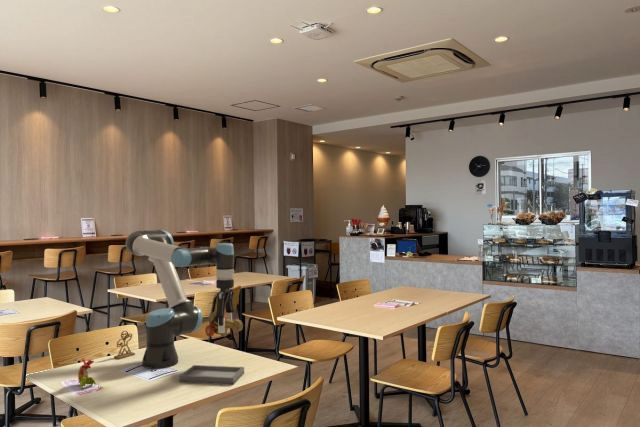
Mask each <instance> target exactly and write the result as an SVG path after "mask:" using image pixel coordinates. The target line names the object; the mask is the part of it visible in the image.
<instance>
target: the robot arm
mask: <svg viewBox="0 0 640 427" xmlns="http://www.w3.org/2000/svg"><path fill="white" fill-rule="evenodd" d="M174 243H175V241H174V238H173V236H172V234H171V233H170V232H169V231H166V230H163V229H154V230H151V229H150V230H135V231H133V232H131V233H130V234H128V236H127V237H126V239H125V249H126V250H127V251H128V252H129V253H130V254H132V255H134V256H138V257H139V256H140V257H143V256H146V257H147V259H148V261H149V262H151V263H153V266H154V268H155V271H156V274H157V277H158V280H159V282H160V285H161V288H162V290H163V293H164V295H165V298H166V301H167V303H168V307H165V308H159V309H154V310H151V311H150V312H149V313H148V314H147V315H146V322H145V325H146V326H145V327H146V348H145V350H144V354H143V358H142V366H143V367H144V368H146V367H148V368H147V369H164V368H169V367H172V366H175V365H177V364H178V363H179V355H178V353H177V352H178V351H177V350H176V345H175V337H178V336H182V335H186V334H192V333H194V332H197V331H198V330H199V329H200V328H201V326H202V322H203V312H202V310H201V308H200V307H198V306H196V305H195V306H194V304H193V302H192V300H190V299H188V297H187V295H186V293H185V290H184V288H183V285H182V283H181V280H180V277H179V274H178V272H177V270H176V268H186V267H193V266H194V267H195V266H203V265H215V266H216V268H215V276H216V277H215V278H216V281H215V286H216V289H218V290H220V291H219V293H217V294H216V296H217V300H216V301H217V302H216V311H217V312H216V318H218V333H225V318H224V313H225V312H226V315H227V316H226V318H227V319H228V320H232V321H233V313H234V312H235V310H234V299H233V288H235V280H234V277H235V276H234V275H235V272H236V271H235V266H234V265H235V264H234V263H235V257H234V256H235V251H234V244H233V243H230V242H228V243H226V242H225V243H224V242H220V243H217V244H216V246H215V247H212V246H211V247H208V246H200V247H194V248H185V247H183V246H178V245H174Z"/></svg>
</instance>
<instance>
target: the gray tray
mask: <svg viewBox="0 0 640 427" xmlns="http://www.w3.org/2000/svg"><path fill="white" fill-rule="evenodd" d="M244 374H245V366H229V365H227V366H226V365H225V366H223V365H199V364H198V365H195V364H194V365H192V366H190V367H189V368H188V369H186V370H185V371H184V372H182V374H180V375H179V383H188V384H189V383H190V384H191V383H192V384H208V385H210V384H211V385H231V386H234V385H235V384H236V382H238V381H239V379H240V378H241V377H242V376H243V375H244Z"/></svg>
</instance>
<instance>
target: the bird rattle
mask: <svg viewBox="0 0 640 427" xmlns="http://www.w3.org/2000/svg"><path fill="white" fill-rule="evenodd" d="M80 360H81V361H82V362H83V364H82V365H81V366H79V369H78V373H77V379H78V380H77V381H78V384H79V383H80V385H79V387H80V388H82V387H83V386H84V387H85V386H86V385H88V384H93V385H96V384H97V383H96V382H95V379H94V378H93V377H92V376H89V369H91V368H92V367H91V365H92V364H93V363H94V362H95V360H92V359H89V360H87V361H86V359H85V358H84V357H82V358H81V359H80Z"/></svg>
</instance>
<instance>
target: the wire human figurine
mask: <svg viewBox="0 0 640 427" xmlns="http://www.w3.org/2000/svg"><path fill="white" fill-rule="evenodd" d="M128 338H129V339H128ZM132 338H133V334H132V333H129V332H128V331H127V330H122V331H121V333H120V339H118V340H117V342H116V347H117V348H120V349H119V351H118V354H117V355H113V359H115V360H122V359H126V358H128V357H133V356H135V355H136V352H133V351H131V349H130V347H129V346H128V344H129V342H130V341H131V340H132ZM127 339H128V340H127ZM120 341H123V342H120ZM126 347H127V349H126ZM122 349H123V350H122Z"/></svg>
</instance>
